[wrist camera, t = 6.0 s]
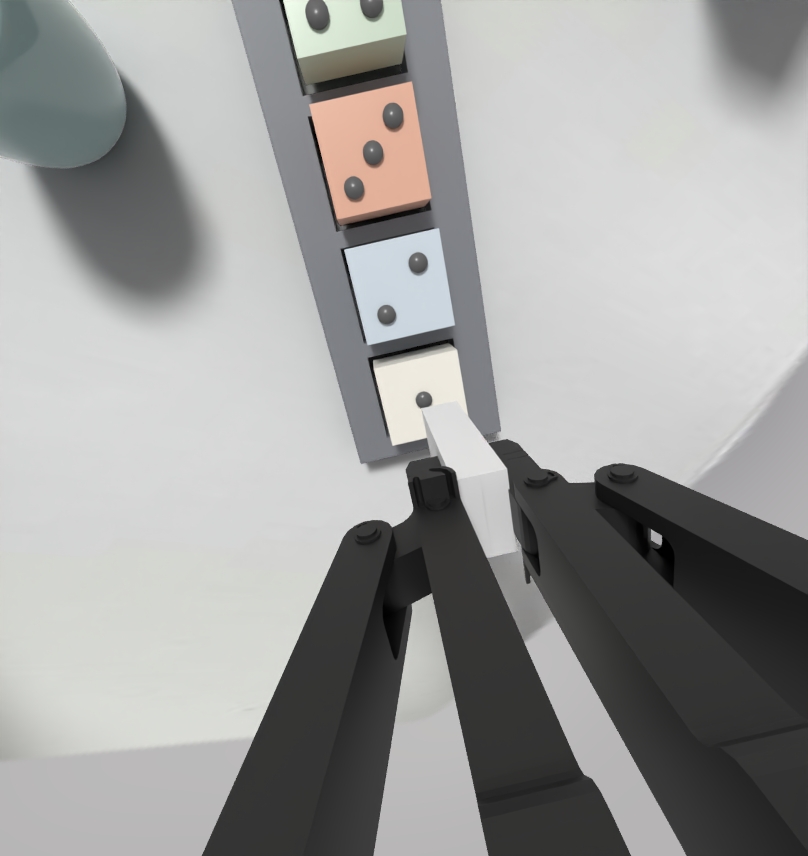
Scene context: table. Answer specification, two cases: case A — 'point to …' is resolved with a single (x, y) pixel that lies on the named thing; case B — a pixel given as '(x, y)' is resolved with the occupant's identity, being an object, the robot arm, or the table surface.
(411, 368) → the tile
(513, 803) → the robot arm
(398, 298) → the tile
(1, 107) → the cup
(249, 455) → the table surface
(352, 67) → the tile
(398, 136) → the tile
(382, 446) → the board
